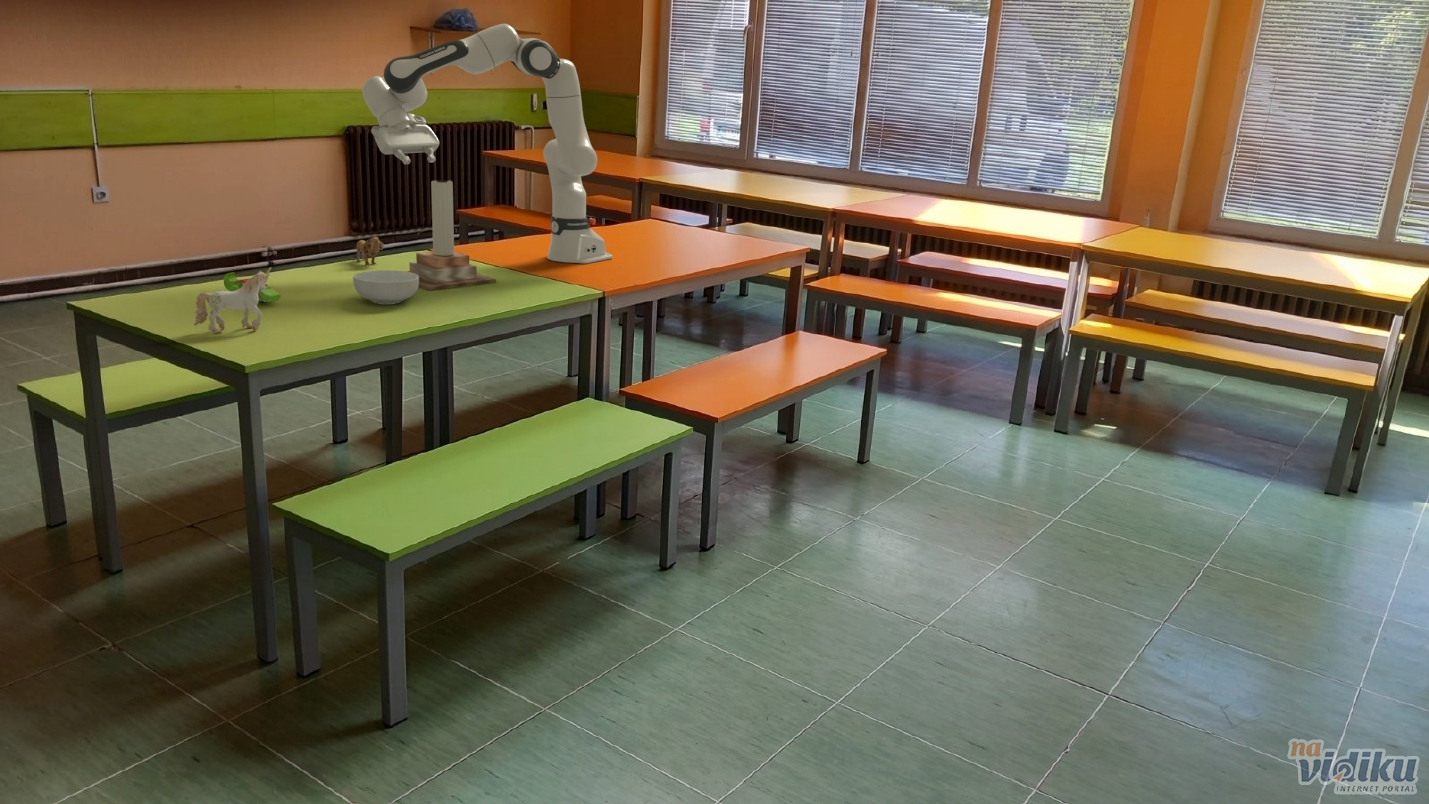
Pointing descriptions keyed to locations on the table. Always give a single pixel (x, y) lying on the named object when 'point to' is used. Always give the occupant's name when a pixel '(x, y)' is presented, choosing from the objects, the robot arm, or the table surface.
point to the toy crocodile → (235, 284)
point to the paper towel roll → (442, 217)
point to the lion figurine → (368, 249)
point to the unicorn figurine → (233, 303)
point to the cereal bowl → (386, 285)
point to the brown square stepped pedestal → (446, 271)
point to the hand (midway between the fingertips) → (420, 162)
